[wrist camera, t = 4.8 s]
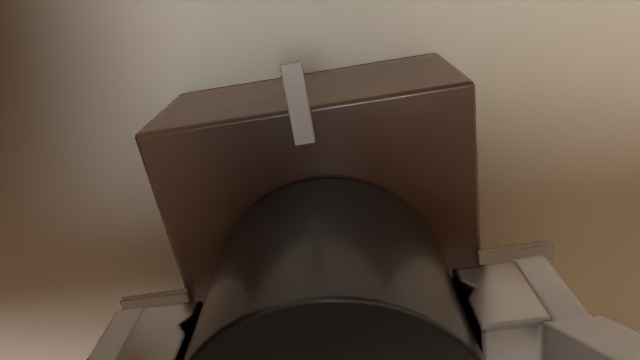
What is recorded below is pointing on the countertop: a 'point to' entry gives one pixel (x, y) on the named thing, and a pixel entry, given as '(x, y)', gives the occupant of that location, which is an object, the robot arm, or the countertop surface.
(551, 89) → the countertop surface
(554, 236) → the countertop surface
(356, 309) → the knob
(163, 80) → the countertop surface
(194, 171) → the panel
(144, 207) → the countertop surface
